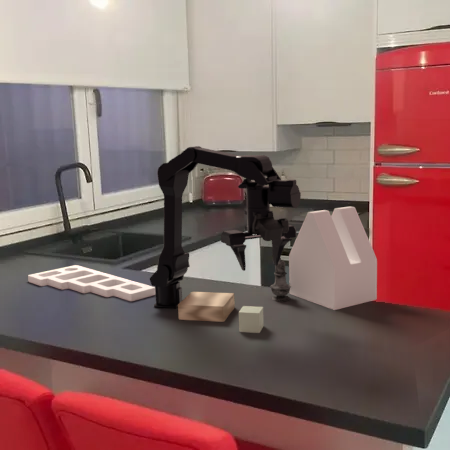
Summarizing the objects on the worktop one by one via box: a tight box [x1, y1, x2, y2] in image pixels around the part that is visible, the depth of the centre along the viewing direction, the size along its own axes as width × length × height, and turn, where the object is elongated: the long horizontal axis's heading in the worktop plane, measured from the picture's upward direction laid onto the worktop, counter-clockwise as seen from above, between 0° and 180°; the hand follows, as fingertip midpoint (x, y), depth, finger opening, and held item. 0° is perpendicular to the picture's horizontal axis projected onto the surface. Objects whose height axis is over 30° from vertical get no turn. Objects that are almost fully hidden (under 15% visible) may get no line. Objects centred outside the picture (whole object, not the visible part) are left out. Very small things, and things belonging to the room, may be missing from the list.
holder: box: [27, 264, 156, 302], centre depth 195 cm, size 45×18×3 cm, turn 44°
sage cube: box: [238, 305, 264, 334], centre depth 152 cm, size 5×5×5 cm
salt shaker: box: [269, 257, 291, 302], centre depth 175 cm, size 6×6×12 cm
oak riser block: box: [177, 291, 236, 323], centre depth 165 cm, size 12×12×4 cm
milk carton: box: [288, 206, 378, 311], centre depth 175 cm, size 19×15×25 cm
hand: (259, 267), depth 157 cm, fingers open, 9 cm apart
